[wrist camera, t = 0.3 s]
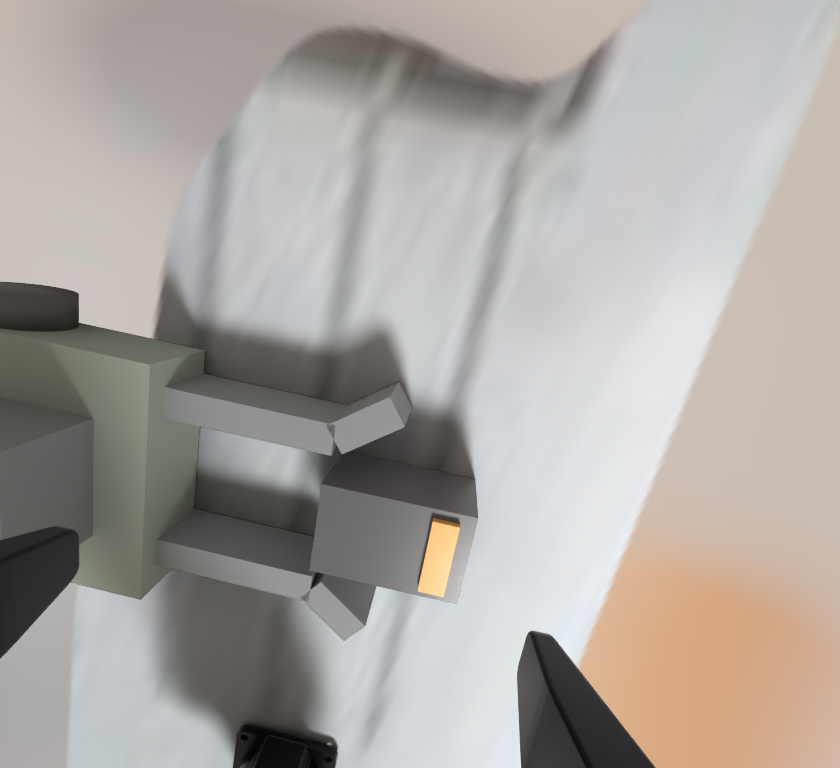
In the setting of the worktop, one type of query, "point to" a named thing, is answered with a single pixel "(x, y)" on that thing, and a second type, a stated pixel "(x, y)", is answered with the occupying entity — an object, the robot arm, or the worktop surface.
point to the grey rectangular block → (395, 526)
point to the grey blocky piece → (156, 455)
